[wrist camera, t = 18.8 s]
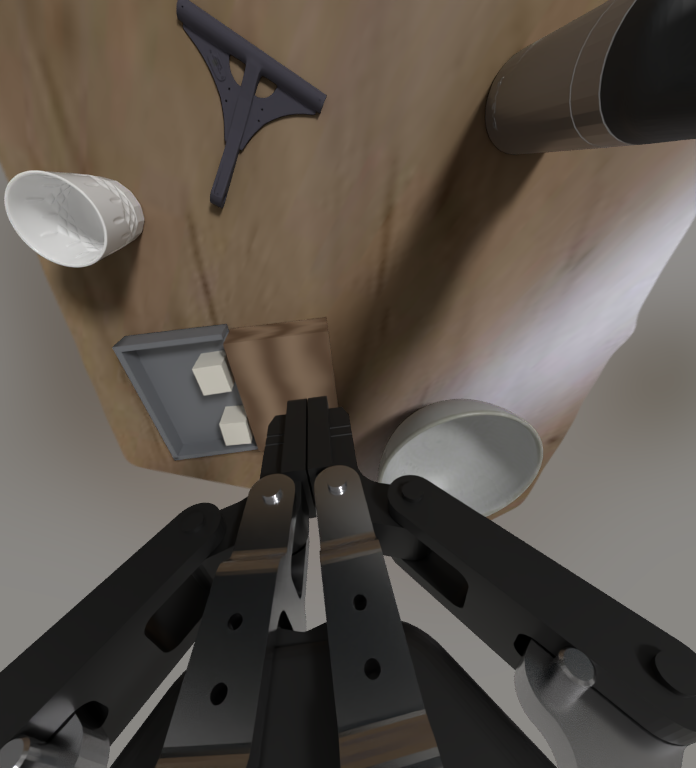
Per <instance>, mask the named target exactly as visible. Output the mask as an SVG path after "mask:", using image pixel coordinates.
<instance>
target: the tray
mask: <svg viewBox="0 0 696 768" xmlns="http://www.w3.org/2000/svg"><path fill="white" fill-rule="evenodd" d="M228 333H229V329H228V326H227V324H222V325H214V326H205V327H197V328H189V329H180V330H172V331H164V332H155V333H147V334H139V335H131V336H124V337H123V338H122V339H121V340H120V341H119V342H118V343H117V344H115V345H114V346H113V347H112V348H113V350H114V352H115V353H116V355H117V357H118V359H119V361H120V362H121V364H122V366H123V368H124V370H125V371H126V373H127V375H128V377H129V379H130V380H131V382H132V384H133V386H134V388H135V389H136V391H137V393H138V395H139V397H140V398H141V400H142V402H143V404H144V406H145V407H146V409H147V411H148V413H149V415H150V417H151V418H152V420H153V422H154V424H155V426H156V427H157V429H158V431H159V433H160V435H161V436H162V438H163V440H164V442H165V444H166V445H167V447H168V449H169V451H170V453H171V454H172V456H173V458H174V460H182V459H189V458H196V457H204V456H211V455H219V454H226V453H233V452H241V451H248V450H256V449H258V447H257V444H256V441H255V438H254V435H253V437H252V442H251V443H250V444H239V445H228V446H226V444H225V441H224V438H223V435H222V431H221V428H220V425H219V423H220V421H221V418H222V415H223V412H224V409H225V407H227V406H239V405H243V402H242V400H241V397H240V394H239V391H238V388H237V385H236V382H235V383H234V386H233V388H232V391H230V392H224V393H217V394H211V395H203V393H202V390H201V388H200V386H199V384H198V382H197V379H196V377H195V375H194V373H193V371H192V368H193V366H194V365H195V363H196V361H197V360H198V358H199V356H200V354H202V353H208V352H215V351H222V350H225V349H224V346H223V343H224V341H225V339H226V337H227V335H228Z"/></svg>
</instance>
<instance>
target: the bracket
mask: <svg viewBox="0 0 696 768" xmlns="http://www.w3.org/2000/svg"><path fill="white" fill-rule="evenodd" d="M177 17H178V19H179V20H180V21H181V22H183V28H184V30H185V31H186V32H187V34H188V35H189V36H190V38H191V39H192V41H193V42H194V43H195V45H196V46H197V48H198V49H199V51H200V52H201V54H202V56H203V57H204V59H205V61H206V63H207V65H208V67H209V69H210V71H211V73H212V75H213V78H214V80H215V83H216V85H217V88H218V91H219V93H220V97H221V102H222V108H223V114H224V125H225V141H226V146H225V149H224V153H223V156H222V159H221V162H220V165H219V169H218V172H217V175H216V178H215V181H214V184H213V187H212V190H211V194H210V202H211V203H213V204H215V205H217V206H218V207H220V208H223V207H224V204H225V200H226V197H227V193H228V190H229V186H230V182H231V179H232V175H233V172H234V168H235V164H236V161H237V157H238V154H239V150H243V148H244V147H245V146H246V144H247V143H248V141H249V140H250V138H251V137H252V136H253V135H254V134H255V133H256V132H257V131H258V130H259V129H260V128H261V127H262V126H263V125H265V124H266V123H268V122H270V121H272V120H274V119H277V118H279V117H283V116H287V115H293V114H308V115H315V113H316V111H317V112H318V113H321V109H322V106H323V103H324V101H325V99H326V96H327V95H325V94H324V93H322V92H321V91H320V90H318V89H317V88H315V87H314V86H312V85H311V84H309V83H308V82H306V81H305V80H304V79H302V78H301V77H299V76H298V75H296V74H295V73H293V72H292V71H291V70H289V69H288V68H286V67H285V66H283V65H282V64H280V63H279V62H277V61H276V60H275V59H273V58H272V57H270V56H269V55H267V54H266V53H264V52H263V51H262V50H260V49H259V48H257V47H256V46H254V45H253V44H251V43H250V42H248V41H247V40H246V39H244V38H243V37H241V36H240V35H238V34H237V33H235V32H234V31H232V30H231V29H230V28H228V27H227V26H225V25H224V24H222V23H221V22H219V21H218V20H217V19H215V18H214V17H212V16H211V15H209V14H208V13H206V12H205V11H203V10H202V9H201V8H199V7H198V6H196V5H195V4H193V3H192V2H190V1H189V0H178V2H177ZM230 54H231V55H233V56H234V57H236V58H237V59H239V60H240V61H242V62H243V63H244V64H246V68H245V72H244V76H243V81H242V85H241V86H239V85H238V84H237V83H236V81H235V80H234V78H233V76H232V74H231V71H230V65H229V57H230ZM261 76H264V77H266V78H267V79H269V80H270V81H272V82H273V83H275V84H276V85H277V88H276V90H275V91H274V93H273V94H272V95H271V96H269V97H267V98H259V97H256V96H255V93H256V89H257V86H258V83H259V80H260V78H261ZM229 88H230V90H229ZM226 100H227V102H226ZM262 109H263V111H262ZM259 120H260V122H258V121H259Z"/></svg>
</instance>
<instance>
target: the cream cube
mask: <svg viewBox="0 0 696 768" xmlns="http://www.w3.org/2000/svg"><path fill="white" fill-rule="evenodd" d="M192 371H193V373H194V375H195V377H196V379H197V382H198V384H199V386H200V388H201V390H202V393H203V395H211V394H217V393H224V392H230V391H232V388H233V386H234V383H235V379H234V376H233V373H232V370H231V367H230V364H229V361H228V358H227V355H226V352H225V350H222V351H215V352H208V353H202V354H200V356H199V358H198V360H197V361H196V363H195V365H194V366H193V368H192Z"/></svg>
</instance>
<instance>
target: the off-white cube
mask: <svg viewBox="0 0 696 768" xmlns="http://www.w3.org/2000/svg"><path fill="white" fill-rule="evenodd" d="M219 425H220V428H221V431H222V435H223V438H224V441H225V444H226V446H228V445H239V444H250V443H251V442H252V437H253V432H252V429H251V426H250V423H249V420H248V417H247V414H246V411H245V408H244V405H239V406H227V407H225V409H224V412H223V415H222V418H221V421H220V423H219Z"/></svg>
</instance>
